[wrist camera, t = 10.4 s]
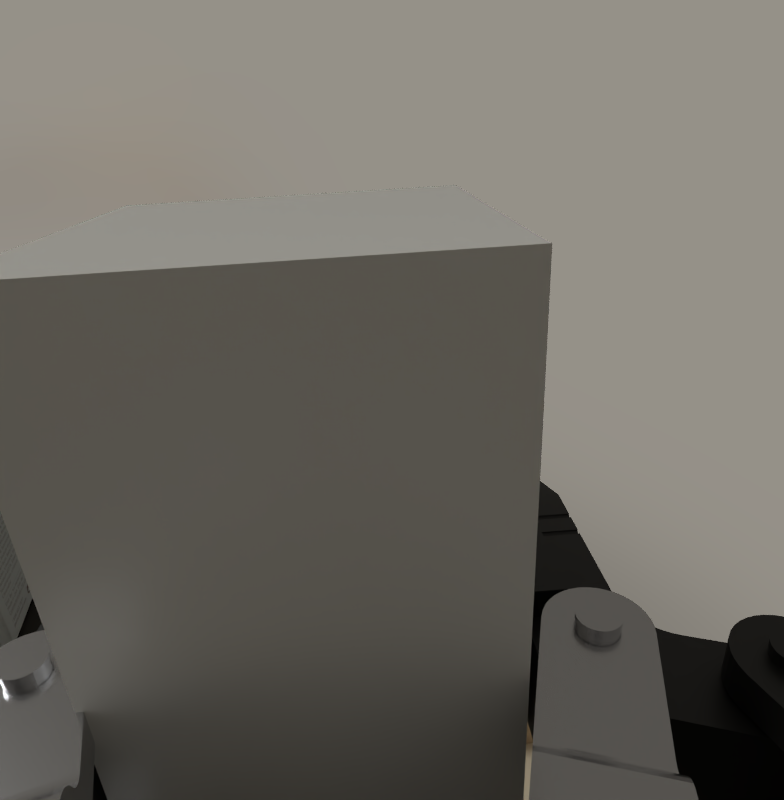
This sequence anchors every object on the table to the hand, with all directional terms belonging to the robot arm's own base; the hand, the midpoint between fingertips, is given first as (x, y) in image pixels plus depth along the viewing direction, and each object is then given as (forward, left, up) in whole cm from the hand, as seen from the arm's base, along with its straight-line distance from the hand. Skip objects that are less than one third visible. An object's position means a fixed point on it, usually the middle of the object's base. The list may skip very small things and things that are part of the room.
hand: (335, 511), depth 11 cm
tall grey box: (0, -3, -6) cm, 7 cm away
